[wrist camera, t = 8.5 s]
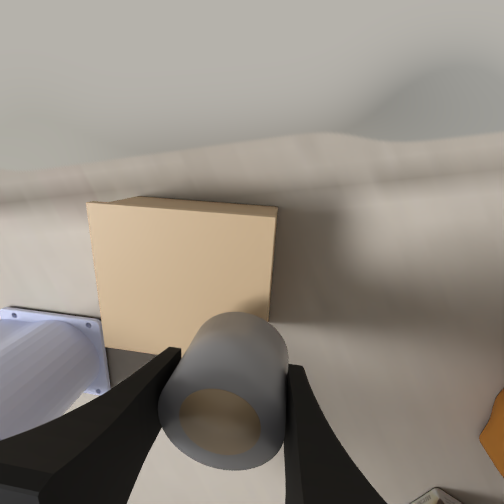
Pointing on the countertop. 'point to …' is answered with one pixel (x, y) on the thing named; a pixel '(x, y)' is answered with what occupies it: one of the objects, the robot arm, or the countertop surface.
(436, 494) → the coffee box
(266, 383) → the grey rounded cylinder
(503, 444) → the coffee package
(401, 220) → the countertop surface
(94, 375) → the robot arm
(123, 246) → the lid
